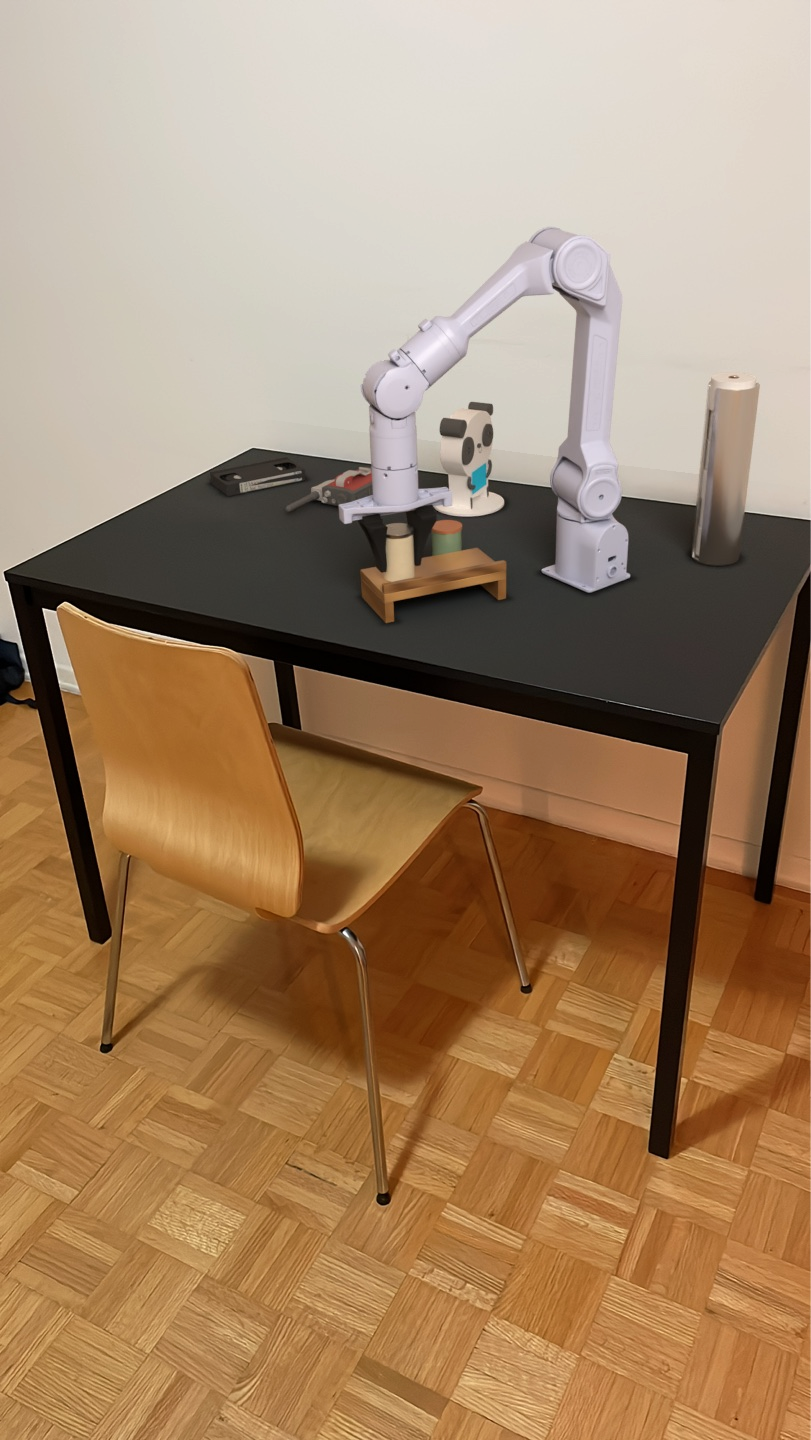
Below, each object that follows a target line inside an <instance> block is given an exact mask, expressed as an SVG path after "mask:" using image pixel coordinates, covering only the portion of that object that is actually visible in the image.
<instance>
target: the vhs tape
mask: <svg viewBox="0 0 811 1440" xmlns="http://www.w3.org/2000/svg"><path fill="white" fill-rule="evenodd" d="M209 476H210V483H211V485H213V486H214V487H215V488H216V489H218V490H219V491H220V492H222V493H223V494H224V495H226V496H227V497H231V496H236V495H241V494H245V493H251V492H255V491H260V490H265V489H270V488H275V487H279V486H285V485H289V484H293V483H298V482H303V481H305V480H306V475H305V468H304V467H302V466H301V465H299V464H297V463H296V462H294V461H293V460H291V459H290V458H289V457H279V458H275V459H271V460H266V461H261V462H260V461H259V462H255V463H251V464H246V465H240V466H235V467H230V468H225V469H219V470H214V471H210V472H209Z"/></svg>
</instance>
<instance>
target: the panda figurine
mask: <svg viewBox="0 0 811 1440" xmlns="http://www.w3.org/2000/svg"><path fill="white" fill-rule="evenodd" d="M493 405H494V404H493V403H489V402H479V401H469V402H468V406H467V408H459V409H457V410H456V411H454V412H453V413H452V414H451V415H450V416H449V417H443V418H442V419H441V421H440V423H439V434H440V436H441V441H440V447H439V448H440V449H439V458H440V463H441V466H442V468H443V470H444V471H445V473H446V474H447V476H448V489H449V490H451V491H452V506H447V507H444V506H443V505H441V506H435V507H433V509H434V510H436V511H438V513H441V514H445V515H448V516H454V517H479V516H485V515H489V514H493V513H496V512H498V511H500V510H501V509H503V507H504V506H505V499H504V498H503V497H502V495H500V494H497V493H495V492H492V491H490V490H489V477H490V475H491V473H492V469H493V461H492V459H490V457H491V454H492V448H493V441H494V426H493V423H492V418H491V417H492V416H493V414H494V406H493Z"/></svg>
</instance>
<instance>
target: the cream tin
mask: <svg viewBox="0 0 811 1440" xmlns="http://www.w3.org/2000/svg"><path fill="white" fill-rule="evenodd" d="M385 525H386V526H387V527H388V529H387V536H386V559H387V572H383V578H384V579H385V580H386V581H389V582H393V581H398V580H404V579H409V578H414V576H415V568H414V540H413V533H414V528H413V526H411V525H409V524H408V523H404V522H394V523H388V524H385Z"/></svg>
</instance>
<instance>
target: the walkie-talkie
mask: <svg viewBox="0 0 811 1440" xmlns="http://www.w3.org/2000/svg"><path fill="white" fill-rule="evenodd" d="M371 495H373V488H372V469H371V466H359V467H358V469H356V470H353V469H348V470H346V471H344V472H342V473H341V474H339V475H337V476H336V477H335V478H334V479H329V480H328V479H327V480H325V481H323V482H321V483H320V484H317V485H315V486H312V487H311V488H310V492H309V494H307V495H305V496H304V497H301V498H300V499H298V500H296V501H293V502H291V503H289V504H288V505H286V506H285V511H286V512H287V513H290V512H292V511H294V510H296V509H298V508H300V507H303V506H304V505H306V504H308V503H310V502H312V501H321V503H322V504H325V505H328V506H334V507H339V505H340V504H345V503H349V502H352V501H355V500H359V499H362V498H365V497H368V496H371Z"/></svg>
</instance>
